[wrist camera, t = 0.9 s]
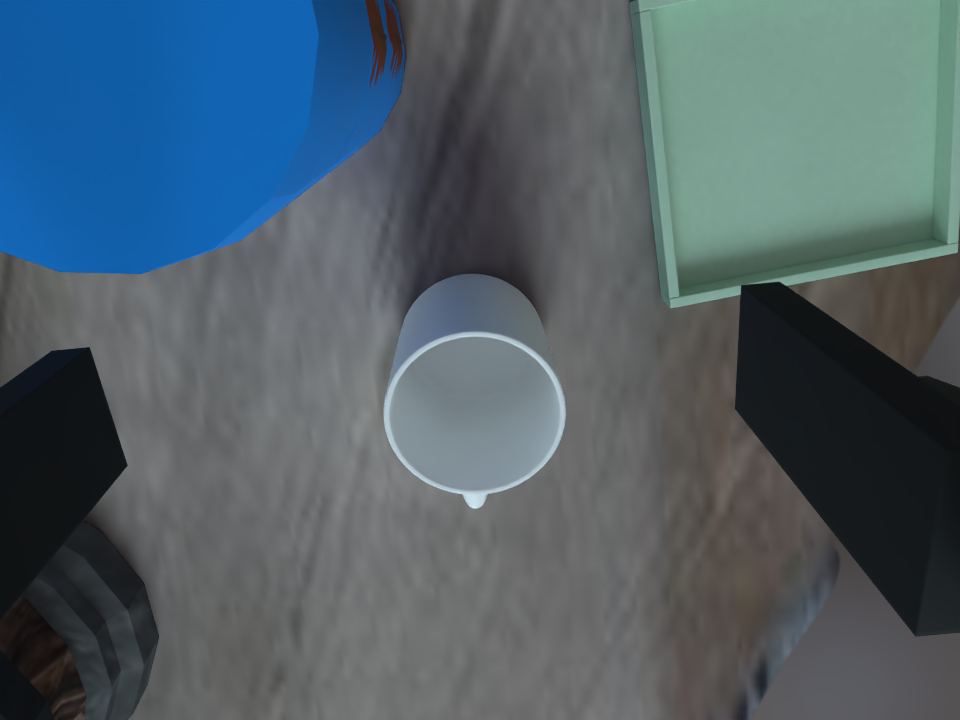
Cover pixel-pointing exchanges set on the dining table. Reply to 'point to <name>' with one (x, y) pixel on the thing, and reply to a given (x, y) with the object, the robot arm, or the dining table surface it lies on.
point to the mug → (473, 389)
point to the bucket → (78, 637)
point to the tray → (797, 138)
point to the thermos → (178, 119)
